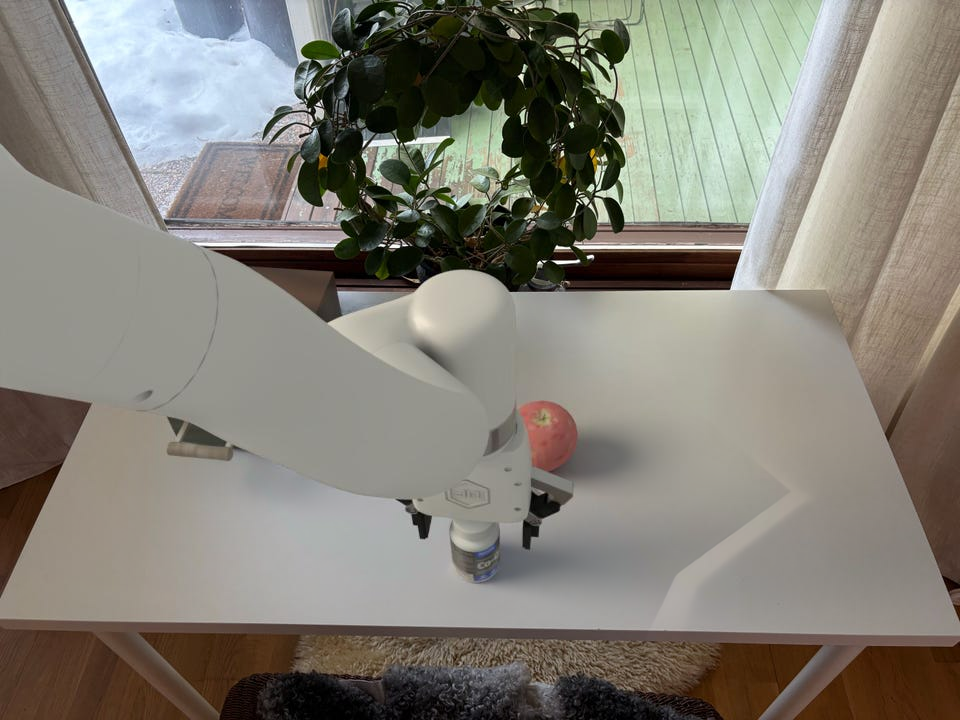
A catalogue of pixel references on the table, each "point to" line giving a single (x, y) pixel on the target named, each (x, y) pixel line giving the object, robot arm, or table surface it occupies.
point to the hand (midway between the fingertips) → (476, 531)
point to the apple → (549, 433)
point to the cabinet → (307, 289)
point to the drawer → (200, 436)
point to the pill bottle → (475, 549)
